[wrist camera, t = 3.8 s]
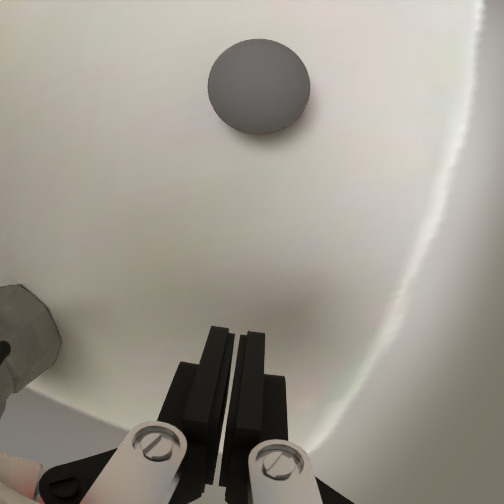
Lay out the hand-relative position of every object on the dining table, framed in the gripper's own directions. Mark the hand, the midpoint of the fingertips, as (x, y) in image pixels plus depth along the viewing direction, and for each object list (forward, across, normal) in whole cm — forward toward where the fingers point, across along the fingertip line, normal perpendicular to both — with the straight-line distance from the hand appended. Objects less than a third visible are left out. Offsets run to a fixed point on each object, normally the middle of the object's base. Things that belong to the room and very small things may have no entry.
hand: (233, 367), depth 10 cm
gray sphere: (+9, +1, -10) cm, 14 cm away
